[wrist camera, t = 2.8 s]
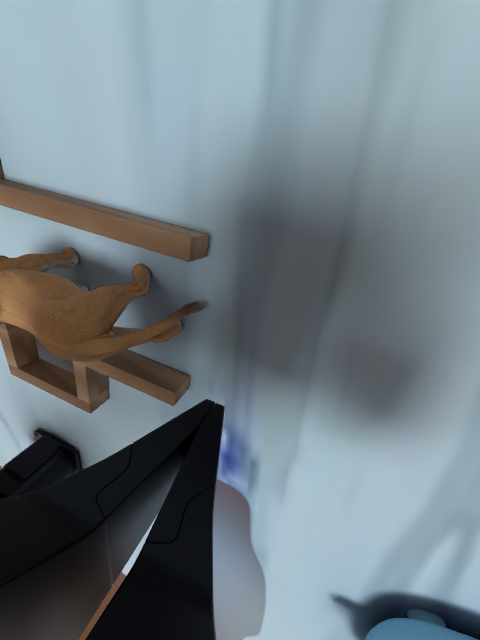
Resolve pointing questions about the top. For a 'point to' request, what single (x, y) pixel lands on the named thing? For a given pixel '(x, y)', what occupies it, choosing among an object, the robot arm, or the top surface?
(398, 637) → the decorative pot
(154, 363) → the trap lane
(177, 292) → the top surface
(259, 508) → the top surface
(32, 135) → the top surface
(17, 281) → the lion figurine
